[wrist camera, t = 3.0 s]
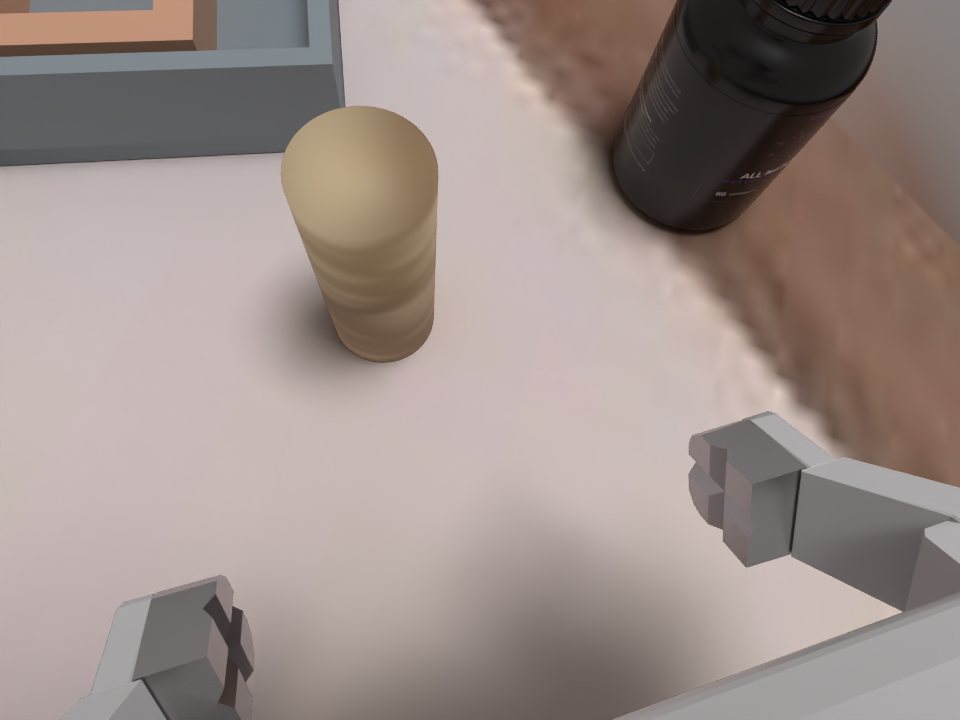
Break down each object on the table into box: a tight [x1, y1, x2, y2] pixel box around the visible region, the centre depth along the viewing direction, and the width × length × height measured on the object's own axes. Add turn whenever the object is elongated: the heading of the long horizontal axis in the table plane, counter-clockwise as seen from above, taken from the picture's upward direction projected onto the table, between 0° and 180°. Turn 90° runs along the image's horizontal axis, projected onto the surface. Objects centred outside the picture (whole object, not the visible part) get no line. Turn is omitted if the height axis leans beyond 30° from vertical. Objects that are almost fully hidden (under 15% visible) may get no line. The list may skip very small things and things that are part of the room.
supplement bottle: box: [613, 0, 892, 230], centre depth 24 cm, size 7×7×12 cm
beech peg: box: [281, 106, 438, 362], centre depth 21 cm, size 4×4×10 cm
